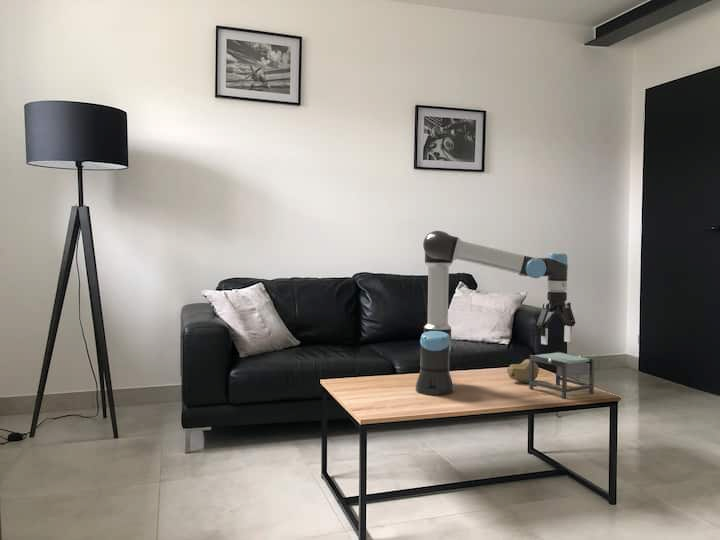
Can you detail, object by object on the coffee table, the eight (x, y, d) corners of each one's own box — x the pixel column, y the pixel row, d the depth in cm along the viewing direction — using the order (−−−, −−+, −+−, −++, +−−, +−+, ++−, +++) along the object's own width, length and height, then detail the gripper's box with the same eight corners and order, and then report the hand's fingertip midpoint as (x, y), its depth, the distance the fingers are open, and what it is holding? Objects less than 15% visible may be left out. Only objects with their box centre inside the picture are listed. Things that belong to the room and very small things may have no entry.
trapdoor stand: (563, 399, 228) (563, 362, 227) (528, 389, 243) (528, 354, 243) (594, 393, 237) (595, 358, 236) (558, 384, 253) (559, 351, 252)
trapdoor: (565, 377, 229) (565, 362, 229) (534, 369, 243) (534, 355, 243) (589, 373, 236) (589, 358, 236) (557, 366, 250) (557, 352, 250)
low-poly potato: (539, 380, 261) (518, 365, 267) (548, 362, 255) (525, 347, 261) (522, 395, 251) (499, 379, 257) (530, 376, 245) (507, 360, 251)
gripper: (542, 292, 232) (541, 346, 232) (585, 290, 244) (584, 342, 245) (528, 291, 238) (527, 343, 239) (570, 289, 251) (569, 339, 252)
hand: (555, 343), depth 242 cm, fingers open, 13 cm apart
